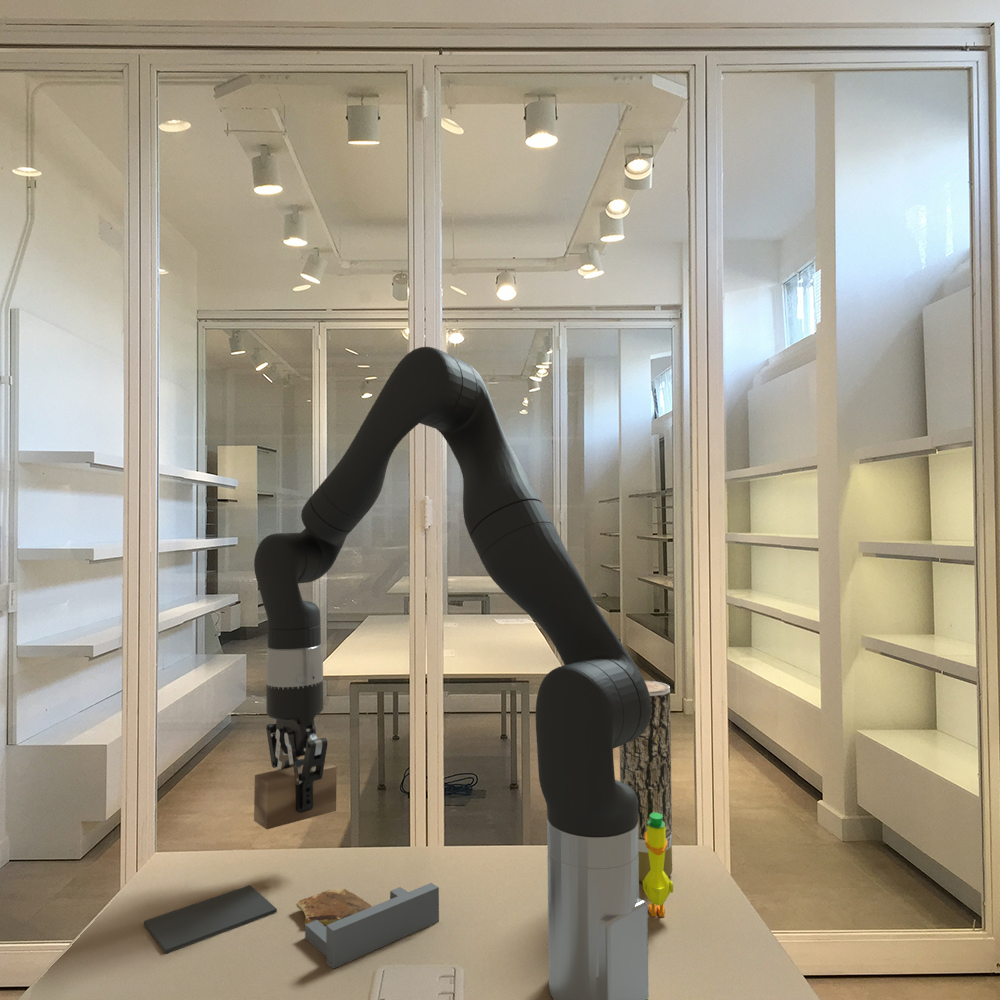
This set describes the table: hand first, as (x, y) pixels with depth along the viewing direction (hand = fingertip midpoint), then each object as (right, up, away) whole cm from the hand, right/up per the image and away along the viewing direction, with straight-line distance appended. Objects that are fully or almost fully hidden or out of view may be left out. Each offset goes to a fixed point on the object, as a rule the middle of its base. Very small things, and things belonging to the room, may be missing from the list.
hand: (296, 805), depth 102 cm
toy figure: (+47, -9, -11) cm, 49 cm away
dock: (+13, -9, -14) cm, 21 cm away
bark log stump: (+47, -9, -1) cm, 48 cm away
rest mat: (-7, -9, -11) cm, 16 cm away
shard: (+9, -10, -10) cm, 16 cm away
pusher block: (0, -1, 0) cm, 1 cm away
